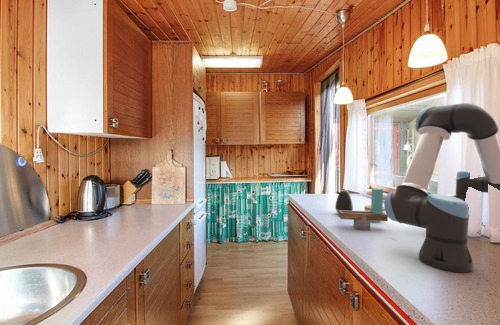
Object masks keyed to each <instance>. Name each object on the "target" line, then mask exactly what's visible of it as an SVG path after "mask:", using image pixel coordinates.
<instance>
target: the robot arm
mask: <svg viewBox="0 0 500 325" xmlns="http://www.w3.org/2000/svg"><path fill="white" fill-rule="evenodd" d="M415 118H416V119H415V126H414V127H415V130H416V132H417V134H418V136H419V139H418V141H417V144H416V147H415V150H414V152H413V155H412V158H411V160H410V163H409V165H408V167H407V168H408V169H407V170H406V173H405V176H404V179H403V181H402V183H401V184H398V185H397V186H396V188H395V190H394V191H390V192H388V193H387V194H386V195H385V197H384V201H383V204H384V205H383V207H384V208H385V214H387V216H388V219H389V220H391V221H393V222H396V223H398V224H404V225H408V226H413V227H418V228H421V229H425V238H424V240H423V242H422V245H421V247H420V249H419V252H418V260H420V262H422V263H424V264H426V265H428V266H430V267H433V268H436V269H439V270H442V271H448V272H454V273H470V272H472V271H473V269H474V262H473V259H472V255H471V253H470V249H469V246H468V237H469V236H468V234H469V221H470V220H469V218H470V211H469V207H468V204H467V203H466V202H465V198H466V192H467V190H468V187H472V188H474V189H476V190H478V191H481V192H480V193H486V194H489V193H488V184H489V185H491V186H493V187H494V188H497V189H498V190H500V141H499V137H498V133H499V126H498V122H497V120H496V119H495V118H494V116H493V115H491V113H490V112H488V111H487V109H485V108H483V107H481V106H480V105H478V104H477V105H476V104H474V103H470V102H461V103H454V104H448V105H439V106H431V107H425V108H424V109H422V110H420V111H419V113H417V115H416V117H415ZM460 133H465V135H466V136H467V138H468V139H469V140H472V143H473V146H474V148H475V152H476V155H477V157H478V159H479V163H480V165H481V167H482V171H483V174H484V175H482V176H483V177H478V178H474V179H469V178H470V172H469V173H468V171H469V170H458V171H457V172H456V178H455V194H441V193H440V194H439V193H428V188H429V185H430V183H431V180H432V176H433V174H434V171H435V169H436V166H437V163H438V160H439V157H440V154H441V151H442V148H443V146H444V143H445V142H447V141H449V140H450V138H451V136H452V134H460Z"/></svg>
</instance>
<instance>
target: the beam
mask: <svg viewBox="0 0 500 325" xmlns="http://www.w3.org/2000/svg"><path fill="white" fill-rule="evenodd" d="M372 213H373V212H371V211H365V210H352V211H348V210H338V213H337V217H338V218H340V220H351V221H352V220H353V227H354V228H355V230H357V231H371V221H370V220H373V221H380V222H388V219H389V217H388V216H387V214H386V212H385V213H383V214H372Z"/></svg>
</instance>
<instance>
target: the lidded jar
mask: <svg viewBox="0 0 500 325" xmlns="http://www.w3.org/2000/svg"><path fill="white" fill-rule="evenodd" d="M370 209H371V204H368V205H364V211H370ZM382 212H383V213H385V214H386V212H385V208H384V206H383V207H382ZM372 221H373V220H370V222H372ZM380 222H381V221H373V223H380Z"/></svg>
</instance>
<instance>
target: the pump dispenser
mask: <svg viewBox="0 0 500 325" xmlns="http://www.w3.org/2000/svg"><path fill="white" fill-rule="evenodd" d="M336 194H338V195H337V198H336V202H335V207H334V208H335V210H336V213H337V214H338V210H348V211H354V205H353V199H352V196H351V194H350V192H349V191H348V190H346V189H343V190H340V191H336Z"/></svg>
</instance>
